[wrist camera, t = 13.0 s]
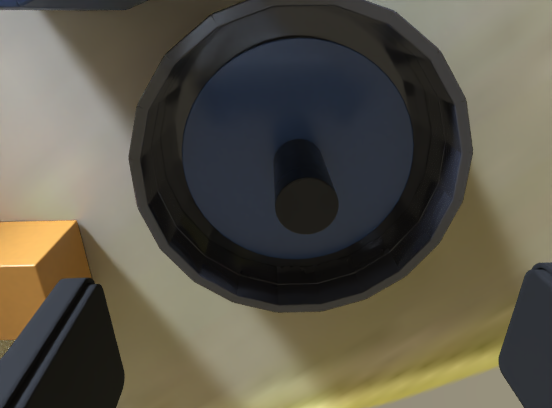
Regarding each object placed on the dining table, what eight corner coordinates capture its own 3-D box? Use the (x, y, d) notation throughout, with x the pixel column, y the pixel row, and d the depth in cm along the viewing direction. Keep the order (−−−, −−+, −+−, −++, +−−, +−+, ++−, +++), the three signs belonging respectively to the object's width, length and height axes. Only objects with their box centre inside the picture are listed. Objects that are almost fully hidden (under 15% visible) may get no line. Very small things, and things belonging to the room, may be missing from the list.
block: (-4, 221, 22) (-64, 267, 18) (77, 219, 22) (35, 265, 18) (20, 286, 24) (-30, 341, 20) (94, 285, 24) (59, 339, 20)
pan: (132, -3, 18) (97, -7, 14) (459, -8, 18) (507, -13, 14) (173, 270, 24) (156, 315, 20) (415, 265, 24) (441, 309, 21)
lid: (172, 38, 18) (130, 49, 13) (422, 34, 18) (488, 43, 13) (197, 251, 23) (174, 326, 17) (393, 247, 23) (433, 320, 18)
